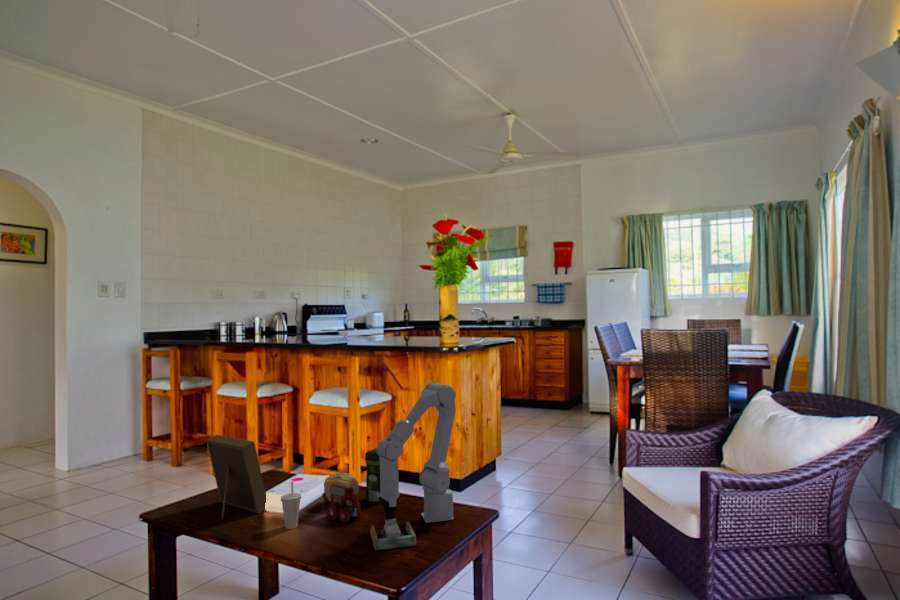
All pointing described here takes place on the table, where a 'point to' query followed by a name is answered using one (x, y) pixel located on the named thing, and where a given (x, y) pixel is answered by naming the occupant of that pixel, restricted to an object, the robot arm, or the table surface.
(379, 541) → the bay
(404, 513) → the table surface
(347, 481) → the sculpture
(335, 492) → the red toy race car
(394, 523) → the grey knobbed block
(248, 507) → the photo frame
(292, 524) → the smoothie
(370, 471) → the coffee jar
